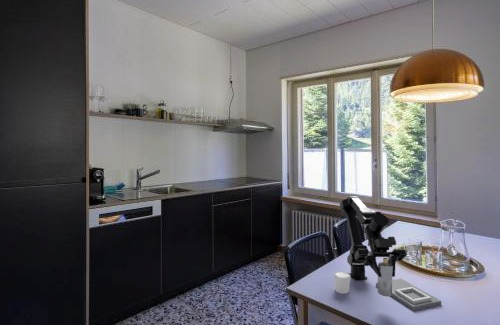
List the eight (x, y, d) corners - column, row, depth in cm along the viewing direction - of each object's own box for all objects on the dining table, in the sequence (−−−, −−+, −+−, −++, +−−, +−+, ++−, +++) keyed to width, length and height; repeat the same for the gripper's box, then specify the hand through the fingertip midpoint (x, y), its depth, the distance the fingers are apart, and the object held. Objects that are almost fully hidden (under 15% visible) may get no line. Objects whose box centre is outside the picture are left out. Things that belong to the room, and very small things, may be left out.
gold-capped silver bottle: (374, 290, 111) (375, 256, 110) (385, 288, 112) (386, 255, 111) (384, 297, 106) (385, 261, 105) (394, 295, 107) (396, 260, 107)
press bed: (375, 285, 127) (376, 280, 127) (400, 281, 132) (401, 276, 131) (413, 310, 108) (413, 303, 108) (441, 304, 112) (441, 298, 112)
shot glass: (346, 286, 127) (347, 271, 127) (352, 294, 120) (353, 278, 120) (331, 286, 127) (331, 271, 126) (336, 294, 120) (337, 278, 120)
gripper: (357, 228, 112) (368, 268, 101) (405, 228, 112) (421, 268, 101) (350, 241, 120) (359, 279, 109) (394, 241, 120) (408, 279, 109)
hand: (386, 276), depth 107 cm, fingers closed on gold-capped silver bottle, 5 cm apart
